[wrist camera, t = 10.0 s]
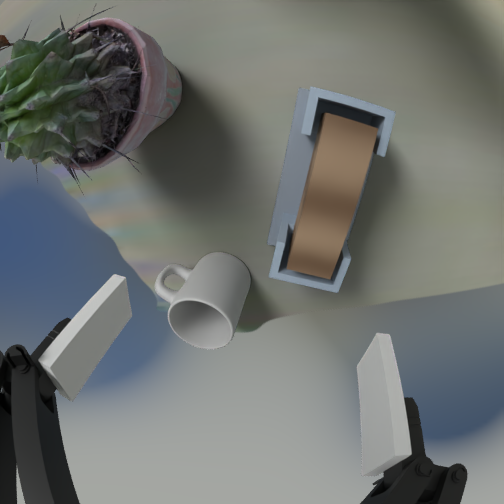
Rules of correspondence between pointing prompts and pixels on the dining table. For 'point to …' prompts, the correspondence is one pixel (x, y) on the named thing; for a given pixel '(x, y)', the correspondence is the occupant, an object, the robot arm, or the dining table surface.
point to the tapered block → (330, 194)
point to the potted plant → (85, 94)
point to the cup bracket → (296, 172)
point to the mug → (206, 299)
